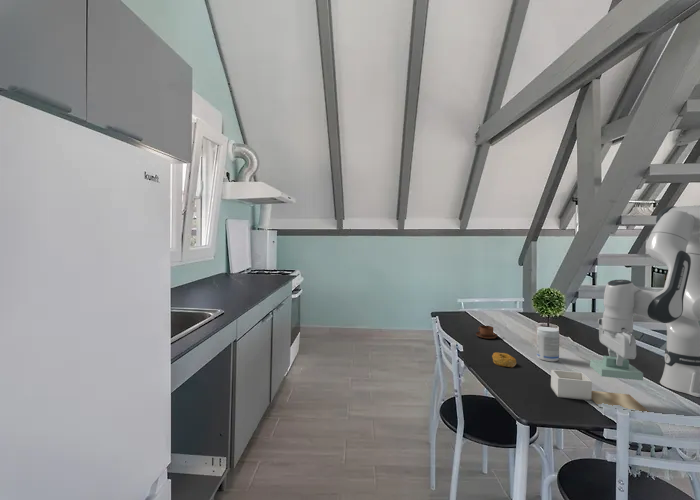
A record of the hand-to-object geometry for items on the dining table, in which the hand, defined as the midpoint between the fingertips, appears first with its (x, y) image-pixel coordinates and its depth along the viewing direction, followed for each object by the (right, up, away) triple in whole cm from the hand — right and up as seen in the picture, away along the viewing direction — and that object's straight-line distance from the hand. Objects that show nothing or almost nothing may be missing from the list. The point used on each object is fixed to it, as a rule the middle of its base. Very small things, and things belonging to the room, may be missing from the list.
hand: (615, 363), depth 131 cm
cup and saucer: (-15, -11, +83) cm, 85 cm away
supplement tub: (+1, -12, +46) cm, 48 cm away
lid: (0, -4, 0) cm, 4 cm away
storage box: (-12, -14, +7) cm, 20 cm away
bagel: (-24, -13, +39) cm, 47 cm away
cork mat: (0, -14, +1) cm, 14 cm away
